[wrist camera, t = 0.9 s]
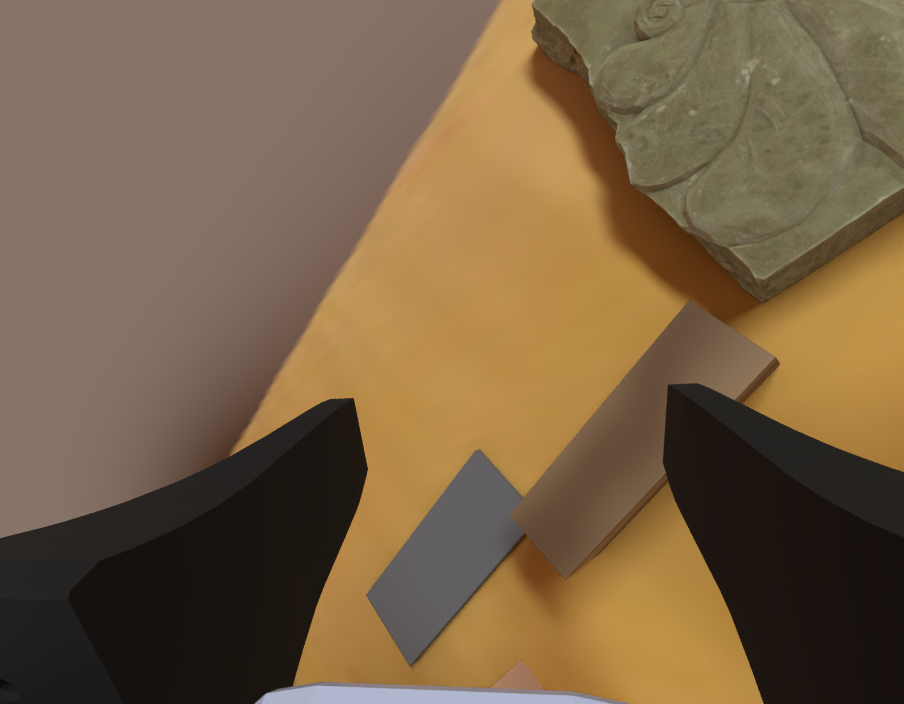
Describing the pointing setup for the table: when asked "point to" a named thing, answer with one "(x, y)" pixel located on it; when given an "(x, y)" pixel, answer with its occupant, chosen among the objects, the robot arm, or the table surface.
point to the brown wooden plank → (633, 439)
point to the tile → (519, 679)
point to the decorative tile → (749, 118)
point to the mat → (447, 556)
